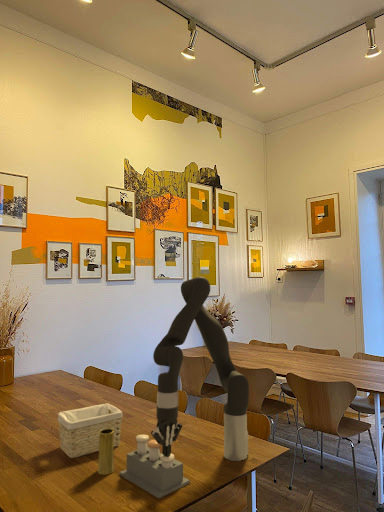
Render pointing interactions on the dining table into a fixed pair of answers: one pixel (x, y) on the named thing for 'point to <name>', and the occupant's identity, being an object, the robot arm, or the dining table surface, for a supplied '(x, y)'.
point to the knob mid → (153, 450)
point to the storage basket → (87, 428)
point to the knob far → (142, 444)
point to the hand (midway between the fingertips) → (166, 455)
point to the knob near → (167, 461)
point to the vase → (106, 452)
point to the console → (154, 474)
